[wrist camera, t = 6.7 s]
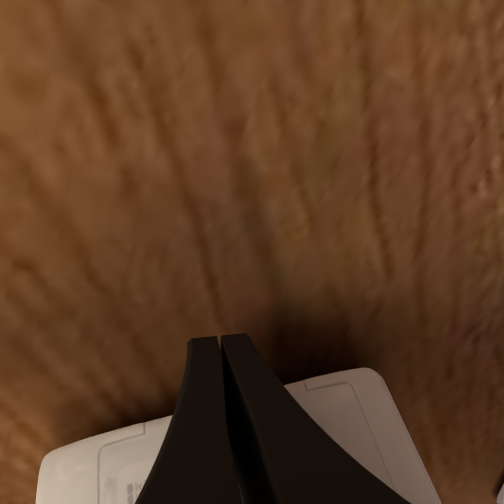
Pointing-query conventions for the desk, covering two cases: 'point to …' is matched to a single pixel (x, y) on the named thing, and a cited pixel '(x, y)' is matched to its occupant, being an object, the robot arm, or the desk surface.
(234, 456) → the robot arm
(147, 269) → the desk surface
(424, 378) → the desk surface
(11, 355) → the desk surface
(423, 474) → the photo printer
